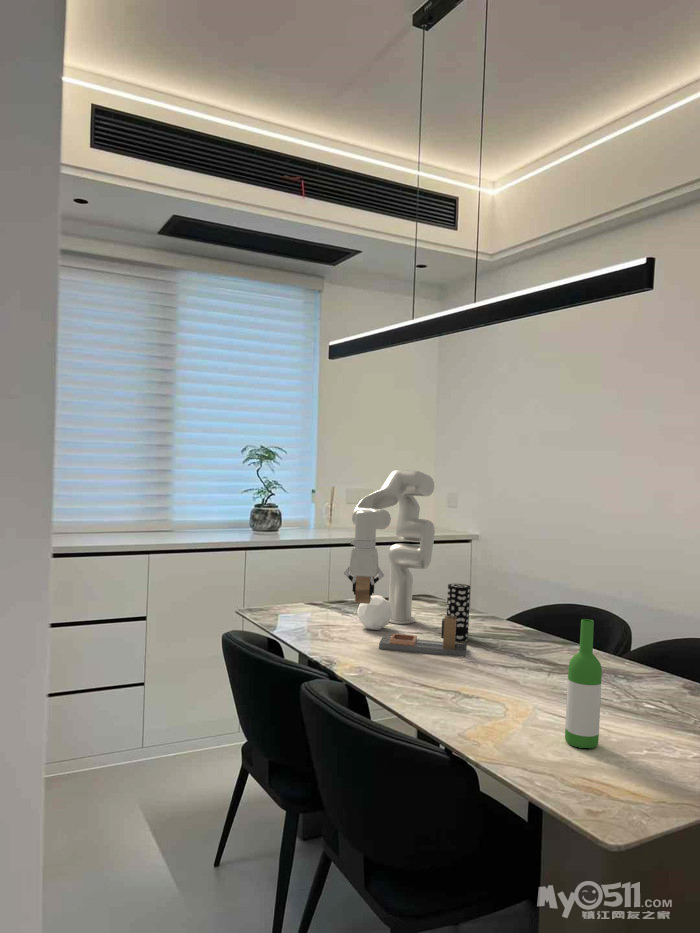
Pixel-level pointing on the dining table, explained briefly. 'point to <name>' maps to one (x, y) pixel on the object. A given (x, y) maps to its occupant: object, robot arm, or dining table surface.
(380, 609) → the geodesic sphere
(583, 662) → the wine bottle
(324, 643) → the dining table surface
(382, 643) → the rail
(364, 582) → the gripped brown wooden block
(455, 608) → the white-spotted black cylinder
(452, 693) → the dining table surface
